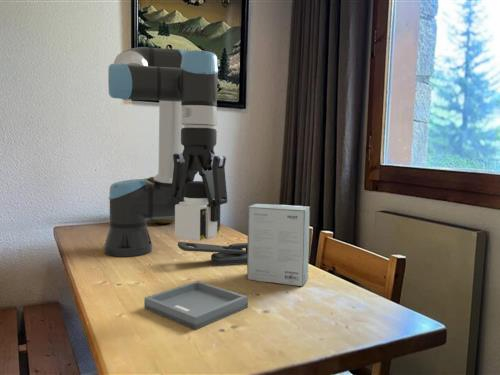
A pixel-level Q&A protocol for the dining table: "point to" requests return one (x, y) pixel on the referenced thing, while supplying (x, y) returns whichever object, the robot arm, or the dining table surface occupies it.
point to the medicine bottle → (193, 213)
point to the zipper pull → (220, 252)
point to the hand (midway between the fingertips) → (197, 233)
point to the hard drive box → (278, 243)
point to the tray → (196, 304)
